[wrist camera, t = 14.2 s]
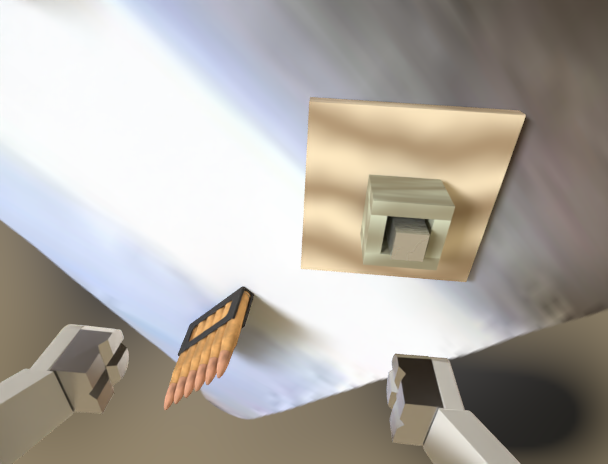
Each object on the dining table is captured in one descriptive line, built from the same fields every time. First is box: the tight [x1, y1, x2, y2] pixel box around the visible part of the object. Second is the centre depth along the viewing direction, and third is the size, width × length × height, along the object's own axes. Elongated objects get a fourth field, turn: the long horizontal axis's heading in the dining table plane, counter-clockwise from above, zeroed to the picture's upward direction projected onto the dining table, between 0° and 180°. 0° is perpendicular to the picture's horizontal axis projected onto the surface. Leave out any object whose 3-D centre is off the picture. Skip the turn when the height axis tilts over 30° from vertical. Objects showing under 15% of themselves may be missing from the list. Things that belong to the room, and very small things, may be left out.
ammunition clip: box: [164, 287, 254, 410], centre depth 44 cm, size 11×2×12 cm, turn 133°
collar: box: [360, 174, 455, 270], centre depth 34 cm, size 6×6×5 cm
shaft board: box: [301, 97, 526, 282], centre depth 34 cm, size 18×18×9 cm
